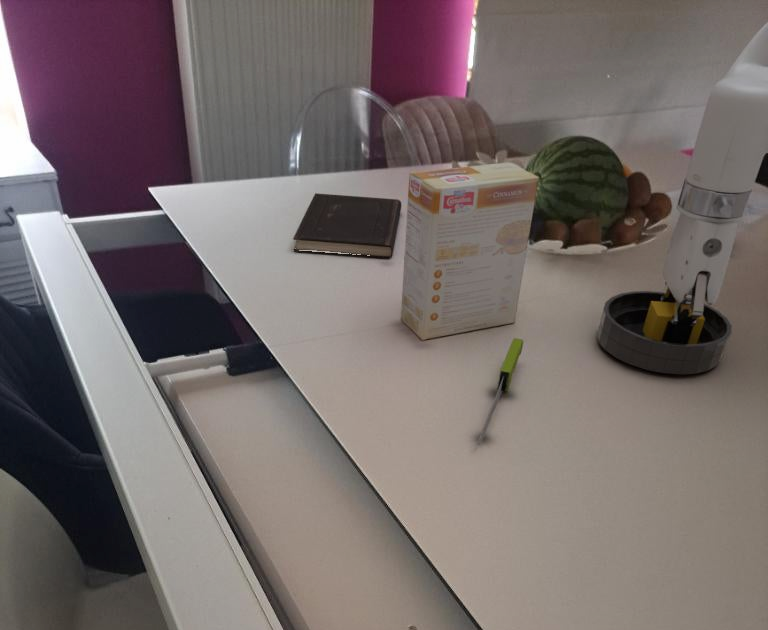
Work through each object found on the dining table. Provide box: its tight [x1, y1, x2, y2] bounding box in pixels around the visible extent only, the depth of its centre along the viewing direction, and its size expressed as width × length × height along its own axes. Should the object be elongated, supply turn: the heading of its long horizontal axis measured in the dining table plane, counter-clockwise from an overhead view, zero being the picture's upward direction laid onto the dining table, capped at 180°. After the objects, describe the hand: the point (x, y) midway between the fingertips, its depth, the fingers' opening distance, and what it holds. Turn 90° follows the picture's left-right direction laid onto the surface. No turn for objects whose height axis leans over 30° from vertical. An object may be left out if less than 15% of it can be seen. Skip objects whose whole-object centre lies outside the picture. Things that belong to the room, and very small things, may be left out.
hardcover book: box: [292, 192, 402, 260], centre depth 127 cm, size 16×23×2 cm
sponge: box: [641, 301, 705, 344], centre depth 97 cm, size 6×4×5 cm
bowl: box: [596, 290, 733, 375], centre depth 98 cm, size 16×16×4 cm
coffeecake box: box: [400, 161, 540, 341], centre depth 97 cm, size 15×7×20 cm, turn 115°
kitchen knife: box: [477, 337, 524, 446], centre depth 86 cm, size 22×1×3 cm, turn 161°
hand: (668, 340), depth 98 cm, fingers closed on sponge, 4 cm apart
